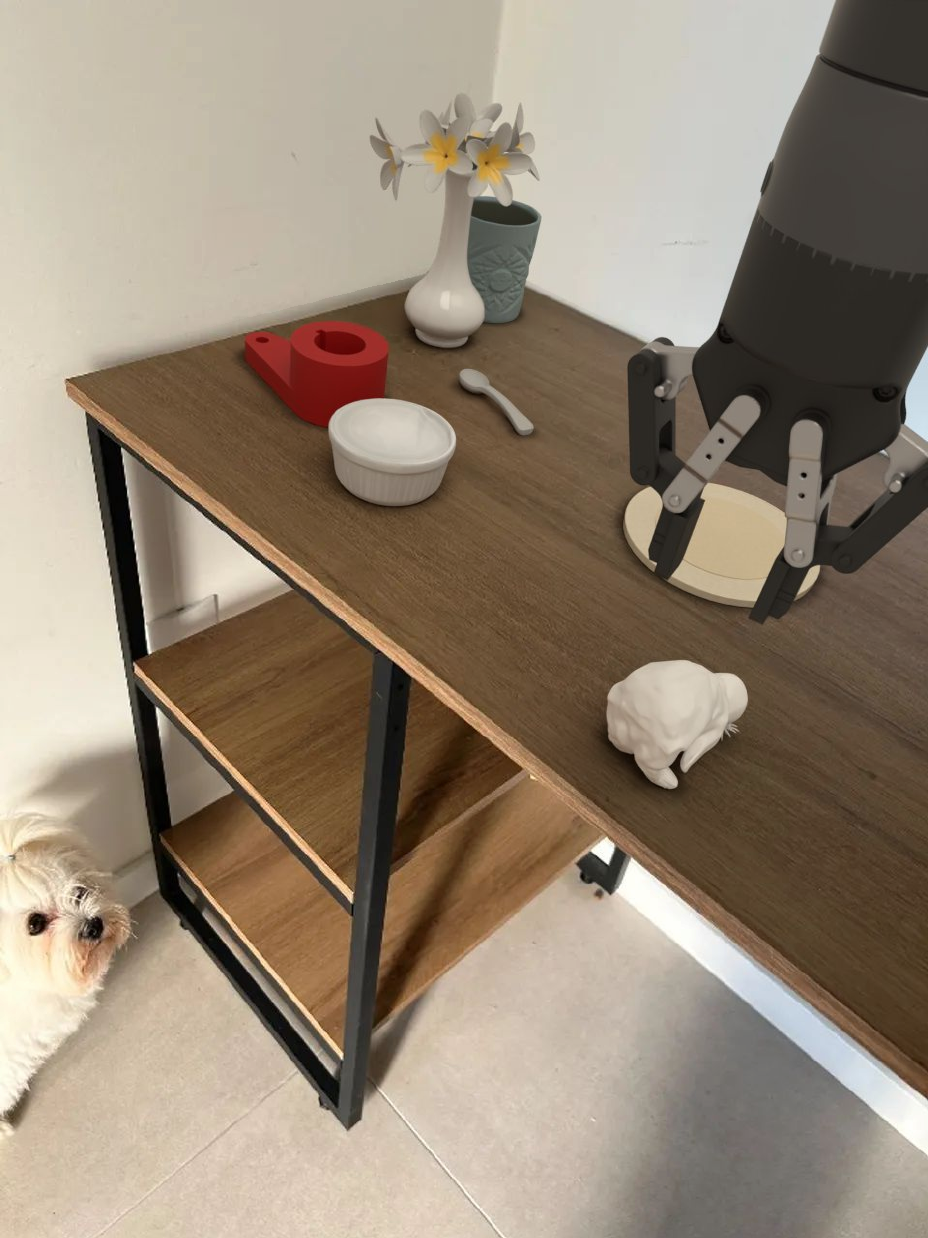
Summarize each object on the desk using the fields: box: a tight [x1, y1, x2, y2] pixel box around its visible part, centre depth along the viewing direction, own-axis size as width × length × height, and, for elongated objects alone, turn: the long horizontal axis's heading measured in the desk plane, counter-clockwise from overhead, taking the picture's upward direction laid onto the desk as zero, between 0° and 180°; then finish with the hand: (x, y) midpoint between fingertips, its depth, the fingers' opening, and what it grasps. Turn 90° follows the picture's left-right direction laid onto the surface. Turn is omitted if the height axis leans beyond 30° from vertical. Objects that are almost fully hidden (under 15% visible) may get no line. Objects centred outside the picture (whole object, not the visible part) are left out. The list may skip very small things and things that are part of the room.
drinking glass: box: [467, 195, 542, 324], centre depth 113 cm, size 10×10×12 cm
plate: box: [622, 482, 821, 609], centre depth 85 cm, size 18×18×1 cm
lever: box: [244, 320, 390, 429], centre depth 94 cm, size 18×9×7 cm, turn 49°
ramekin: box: [328, 398, 457, 507], centre depth 84 cm, size 11×11×5 cm
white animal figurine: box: [606, 659, 749, 790], centre depth 63 cm, size 6×8×12 cm
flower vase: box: [369, 92, 541, 349], centre depth 100 cm, size 13×18×25 cm
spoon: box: [458, 368, 534, 436], centre depth 98 cm, size 3×12×2 cm, turn 34°
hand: (713, 589), depth 44 cm, fingers open, 4 cm apart
